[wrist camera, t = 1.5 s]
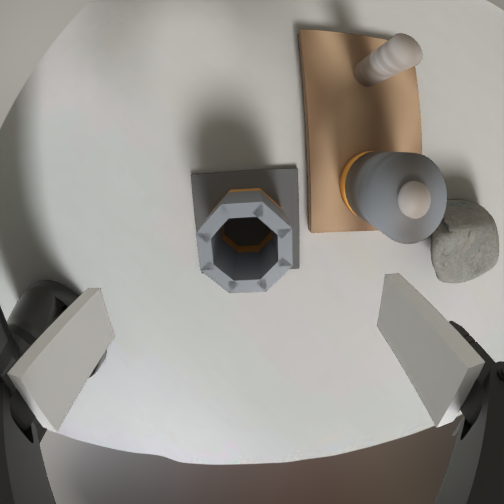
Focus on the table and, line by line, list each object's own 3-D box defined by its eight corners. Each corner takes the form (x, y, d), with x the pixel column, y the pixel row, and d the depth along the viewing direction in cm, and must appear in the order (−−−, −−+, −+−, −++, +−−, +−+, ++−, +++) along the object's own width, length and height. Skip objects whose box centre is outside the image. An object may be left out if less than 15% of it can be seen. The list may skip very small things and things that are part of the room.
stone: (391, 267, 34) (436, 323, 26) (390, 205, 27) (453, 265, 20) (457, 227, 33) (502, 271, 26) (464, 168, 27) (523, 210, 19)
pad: (202, 271, 30) (201, 273, 29) (191, 174, 26) (191, 175, 26) (298, 266, 30) (299, 268, 29) (297, 168, 26) (297, 168, 26)
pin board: (308, 228, 28) (335, 267, 19) (297, 34, 22) (317, -15, 12) (412, 225, 28) (466, 256, 19) (405, 49, 21) (456, 21, 12)
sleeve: (216, 257, 29) (203, 294, 21) (210, 191, 27) (193, 206, 19) (282, 253, 29) (292, 289, 21) (280, 187, 26) (291, 200, 19)
